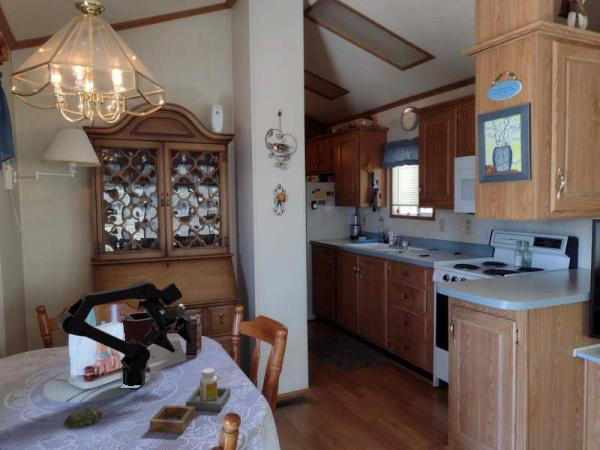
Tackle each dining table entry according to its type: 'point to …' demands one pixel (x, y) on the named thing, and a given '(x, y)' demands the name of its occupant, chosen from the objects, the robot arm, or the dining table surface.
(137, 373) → the robot arm
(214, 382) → the supplement bottle
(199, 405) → the charcoal tray
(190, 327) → the supplement box
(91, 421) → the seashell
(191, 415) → the walnut collar
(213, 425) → the dining table surface
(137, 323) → the mate gourd
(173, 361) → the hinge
